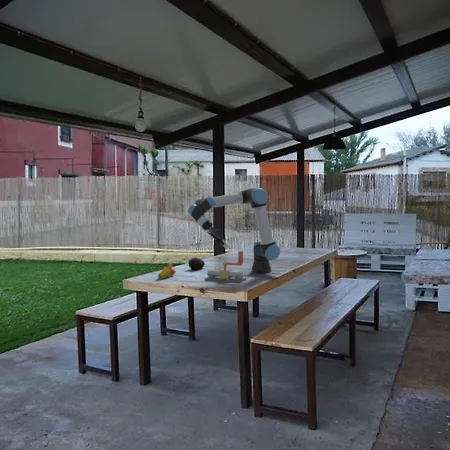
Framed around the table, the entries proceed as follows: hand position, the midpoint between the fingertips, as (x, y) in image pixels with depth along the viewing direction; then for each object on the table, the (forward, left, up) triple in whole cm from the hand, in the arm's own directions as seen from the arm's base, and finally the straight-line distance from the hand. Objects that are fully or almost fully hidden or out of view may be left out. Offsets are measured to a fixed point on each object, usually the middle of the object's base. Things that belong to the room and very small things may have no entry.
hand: (227, 247), depth 330 cm
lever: (-4, +2, -12) cm, 13 cm away
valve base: (-4, -4, -23) cm, 24 cm away
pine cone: (-45, -47, -23) cm, 69 cm away
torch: (-2, -50, -23) cm, 56 cm away
